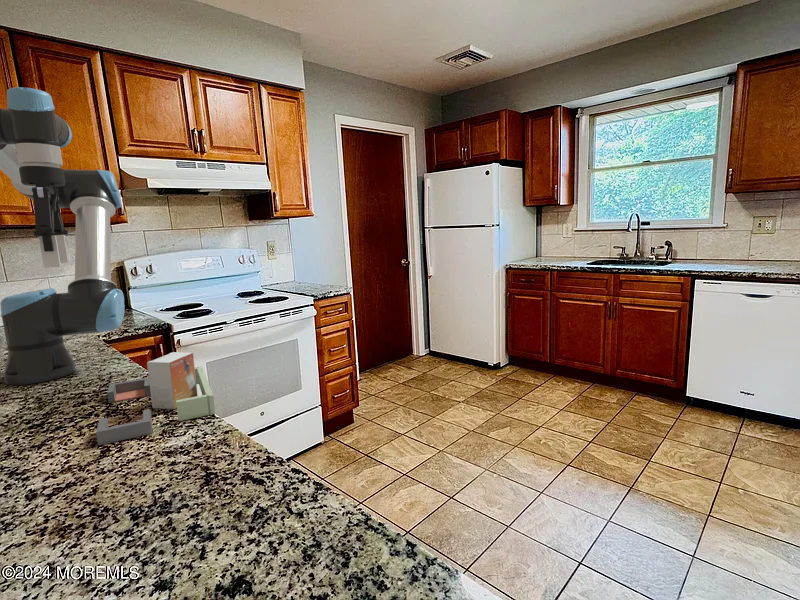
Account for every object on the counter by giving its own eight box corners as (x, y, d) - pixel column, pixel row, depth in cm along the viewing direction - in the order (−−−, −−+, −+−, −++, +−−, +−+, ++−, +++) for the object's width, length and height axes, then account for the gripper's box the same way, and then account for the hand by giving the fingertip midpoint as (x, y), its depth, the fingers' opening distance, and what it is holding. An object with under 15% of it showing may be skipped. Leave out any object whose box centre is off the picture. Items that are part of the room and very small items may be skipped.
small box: (174, 410, 93) (168, 362, 91) (151, 408, 94) (145, 361, 92) (198, 396, 100) (193, 352, 99) (177, 395, 101) (172, 351, 100)
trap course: (111, 394, 103) (108, 378, 103) (202, 377, 113) (200, 363, 112) (98, 445, 78) (94, 424, 77) (217, 418, 87) (215, 400, 87)
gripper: (30, 172, 102) (45, 262, 106) (3, 157, 81) (23, 270, 85) (69, 173, 106) (83, 260, 110) (54, 160, 85) (71, 267, 89)
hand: (57, 265), depth 98 cm, fingers open, 13 cm apart
